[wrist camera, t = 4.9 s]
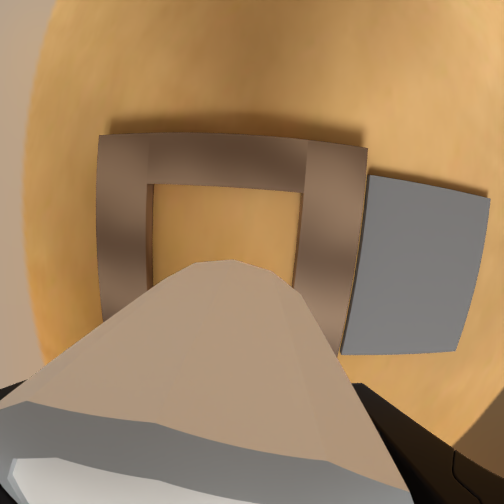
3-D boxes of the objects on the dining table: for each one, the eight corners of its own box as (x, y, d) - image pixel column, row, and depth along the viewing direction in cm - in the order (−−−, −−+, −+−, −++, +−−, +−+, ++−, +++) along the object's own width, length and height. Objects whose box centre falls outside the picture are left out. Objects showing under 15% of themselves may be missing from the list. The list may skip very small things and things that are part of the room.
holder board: (329, 368, 21) (332, 377, 20) (114, 345, 21) (107, 353, 20) (361, 149, 18) (367, 148, 16) (107, 136, 18) (99, 135, 17)
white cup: (92, 272, 9) (-78, 394, 2) (307, 206, 8) (460, 325, 2) (173, 432, 11) (124, 584, 4) (350, 399, 10) (403, 573, 3)
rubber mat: (452, 348, 21) (455, 351, 20) (339, 351, 21) (341, 354, 20) (486, 198, 18) (490, 198, 17) (367, 174, 18) (370, 174, 17)
